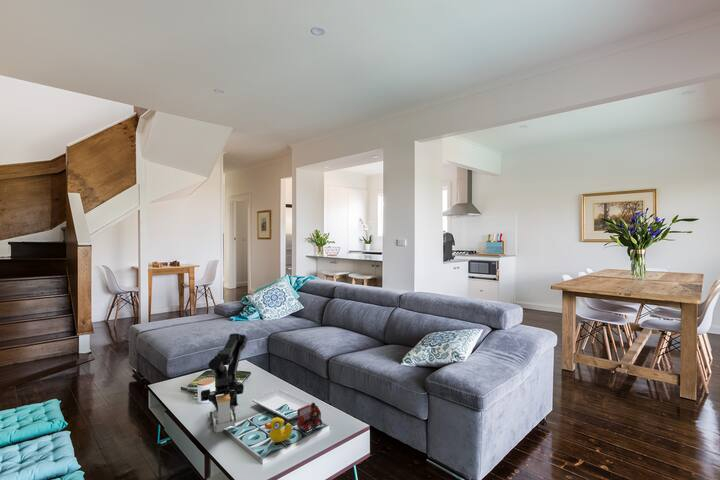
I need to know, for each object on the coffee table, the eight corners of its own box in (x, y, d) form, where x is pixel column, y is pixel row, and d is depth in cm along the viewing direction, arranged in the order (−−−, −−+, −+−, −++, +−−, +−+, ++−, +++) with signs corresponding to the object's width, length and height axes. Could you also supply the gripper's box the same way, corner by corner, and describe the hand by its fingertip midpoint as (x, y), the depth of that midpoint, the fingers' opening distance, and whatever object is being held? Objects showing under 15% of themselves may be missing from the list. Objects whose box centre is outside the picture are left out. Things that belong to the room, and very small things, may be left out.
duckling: (266, 448, 154) (265, 423, 154) (263, 441, 159) (263, 418, 159) (293, 441, 159) (292, 417, 159) (290, 435, 164) (289, 412, 163)
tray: (288, 425, 173) (288, 417, 173) (251, 405, 194) (251, 398, 194) (316, 412, 185) (316, 405, 185) (278, 394, 206) (278, 388, 206)
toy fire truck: (325, 425, 172) (324, 402, 171) (303, 435, 163) (302, 412, 163) (315, 420, 176) (315, 398, 176) (294, 430, 168) (293, 407, 168)
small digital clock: (233, 412, 186) (233, 405, 186) (237, 427, 171) (237, 420, 171) (209, 417, 182) (209, 410, 182) (211, 433, 166) (211, 426, 166)
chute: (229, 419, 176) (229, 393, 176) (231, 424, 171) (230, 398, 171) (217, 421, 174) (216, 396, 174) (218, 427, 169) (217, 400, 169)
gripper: (200, 373, 172) (201, 407, 162) (242, 366, 180) (246, 398, 170) (200, 384, 179) (201, 417, 169) (241, 377, 187) (244, 408, 177)
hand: (223, 410), depth 171 cm, fingers closed on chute, 5 cm apart
